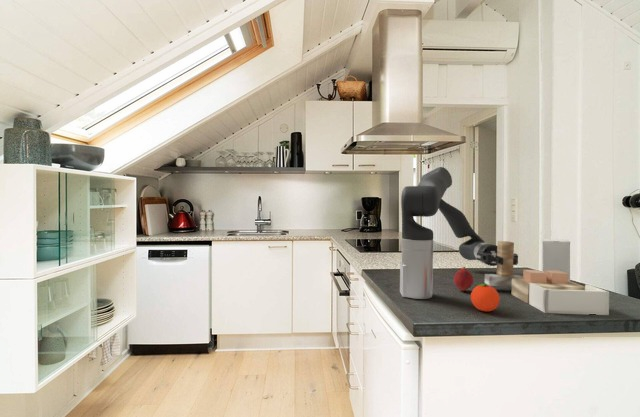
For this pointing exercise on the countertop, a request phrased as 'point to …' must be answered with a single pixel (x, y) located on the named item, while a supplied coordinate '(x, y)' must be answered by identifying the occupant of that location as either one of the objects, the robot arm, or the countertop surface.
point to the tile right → (556, 277)
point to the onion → (463, 279)
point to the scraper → (503, 266)
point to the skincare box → (556, 255)
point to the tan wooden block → (522, 287)
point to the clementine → (485, 297)
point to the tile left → (534, 276)
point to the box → (570, 300)
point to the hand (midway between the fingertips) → (509, 261)
